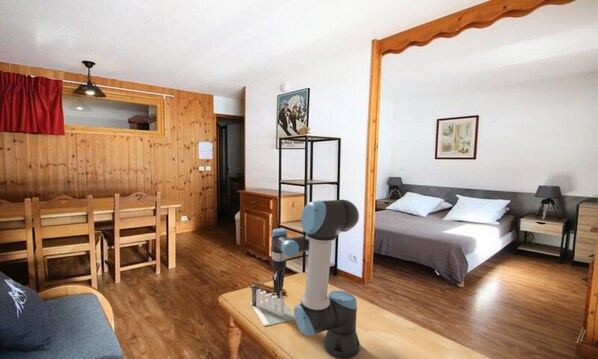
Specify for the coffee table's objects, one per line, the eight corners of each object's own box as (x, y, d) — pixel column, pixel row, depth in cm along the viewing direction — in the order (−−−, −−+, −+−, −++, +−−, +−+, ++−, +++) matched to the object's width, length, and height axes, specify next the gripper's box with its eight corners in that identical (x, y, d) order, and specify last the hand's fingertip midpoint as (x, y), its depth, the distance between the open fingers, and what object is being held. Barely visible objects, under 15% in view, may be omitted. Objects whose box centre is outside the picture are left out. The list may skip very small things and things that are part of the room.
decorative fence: (277, 298, 169) (288, 292, 178) (277, 295, 169) (288, 288, 177) (245, 288, 183) (256, 282, 191) (245, 284, 183) (256, 279, 191)
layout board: (296, 319, 149) (296, 318, 149) (264, 326, 142) (264, 326, 142) (278, 297, 171) (278, 296, 171) (249, 303, 164) (249, 302, 164)
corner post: (258, 306, 161) (258, 285, 160) (252, 307, 160) (252, 286, 159) (256, 303, 164) (256, 283, 163) (250, 304, 163) (250, 284, 162)
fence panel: (256, 305, 160) (256, 289, 159) (258, 304, 161) (258, 288, 160) (282, 316, 149) (282, 299, 148) (284, 315, 150) (284, 298, 150)
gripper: (276, 254, 161) (276, 296, 163) (267, 262, 148) (267, 307, 150) (289, 255, 159) (289, 298, 161) (282, 264, 146) (281, 310, 148)
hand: (278, 302), depth 156 cm, fingers closed
